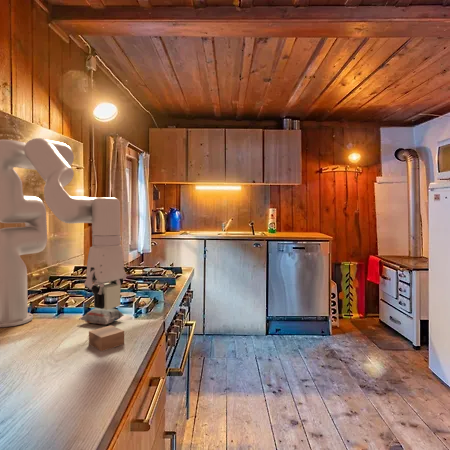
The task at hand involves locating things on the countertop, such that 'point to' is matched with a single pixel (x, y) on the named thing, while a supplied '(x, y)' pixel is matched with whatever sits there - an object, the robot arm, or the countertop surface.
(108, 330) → the walnut base
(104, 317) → the packaged food
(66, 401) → the countertop surface
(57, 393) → the countertop surface
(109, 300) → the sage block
